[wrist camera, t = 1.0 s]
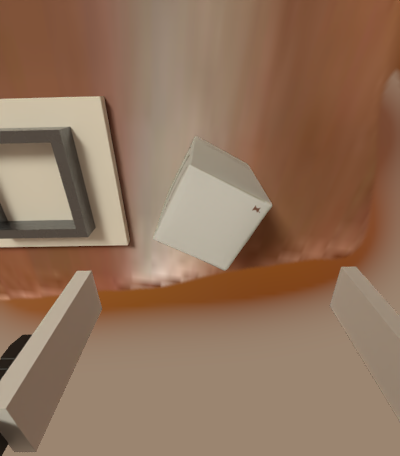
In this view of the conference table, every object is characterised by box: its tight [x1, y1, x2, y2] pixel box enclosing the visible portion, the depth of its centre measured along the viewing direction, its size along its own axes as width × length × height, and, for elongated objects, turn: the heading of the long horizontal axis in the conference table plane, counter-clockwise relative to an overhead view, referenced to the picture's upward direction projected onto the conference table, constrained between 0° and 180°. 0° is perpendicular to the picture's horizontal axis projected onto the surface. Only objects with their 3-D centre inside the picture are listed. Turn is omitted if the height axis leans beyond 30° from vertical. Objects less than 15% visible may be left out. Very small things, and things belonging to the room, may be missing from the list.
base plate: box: [0, 96, 130, 247], centre depth 31 cm, size 18×20×1 cm
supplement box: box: [153, 136, 272, 270], centre depth 26 cm, size 7×7×13 cm
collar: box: [0, 127, 96, 239], centre depth 29 cm, size 12×12×2 cm
